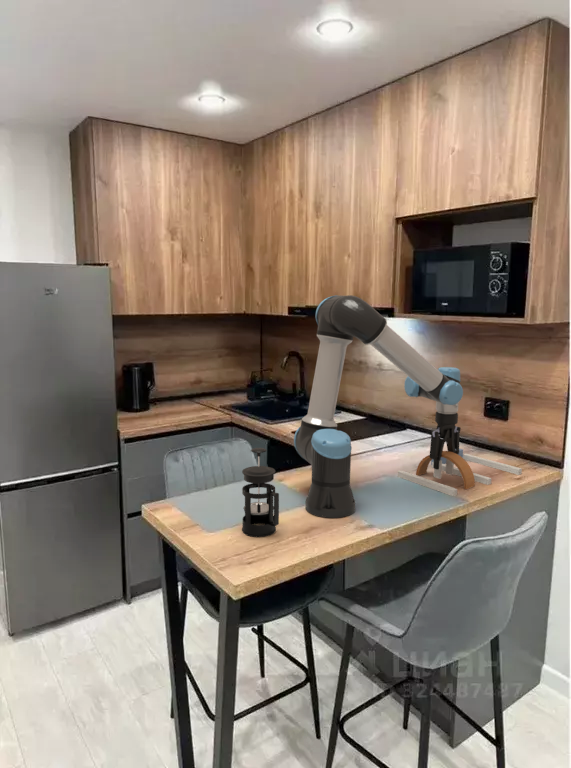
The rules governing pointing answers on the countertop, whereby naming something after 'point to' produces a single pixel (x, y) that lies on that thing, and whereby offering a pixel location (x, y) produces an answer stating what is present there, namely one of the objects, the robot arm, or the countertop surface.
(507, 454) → the countertop surface
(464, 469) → the arch
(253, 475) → the french press
